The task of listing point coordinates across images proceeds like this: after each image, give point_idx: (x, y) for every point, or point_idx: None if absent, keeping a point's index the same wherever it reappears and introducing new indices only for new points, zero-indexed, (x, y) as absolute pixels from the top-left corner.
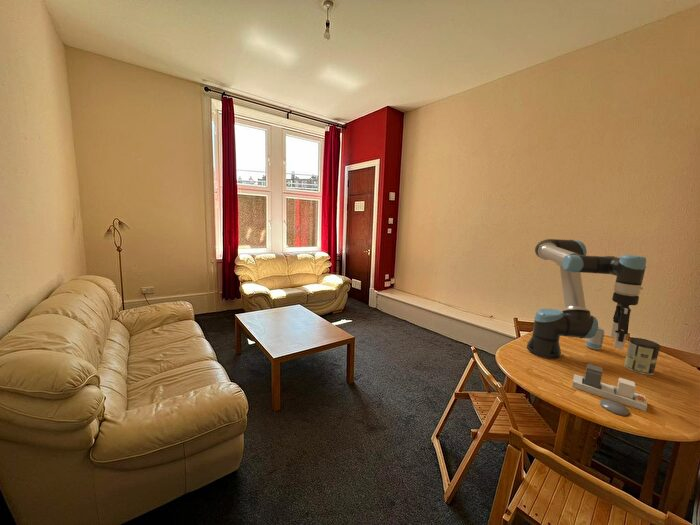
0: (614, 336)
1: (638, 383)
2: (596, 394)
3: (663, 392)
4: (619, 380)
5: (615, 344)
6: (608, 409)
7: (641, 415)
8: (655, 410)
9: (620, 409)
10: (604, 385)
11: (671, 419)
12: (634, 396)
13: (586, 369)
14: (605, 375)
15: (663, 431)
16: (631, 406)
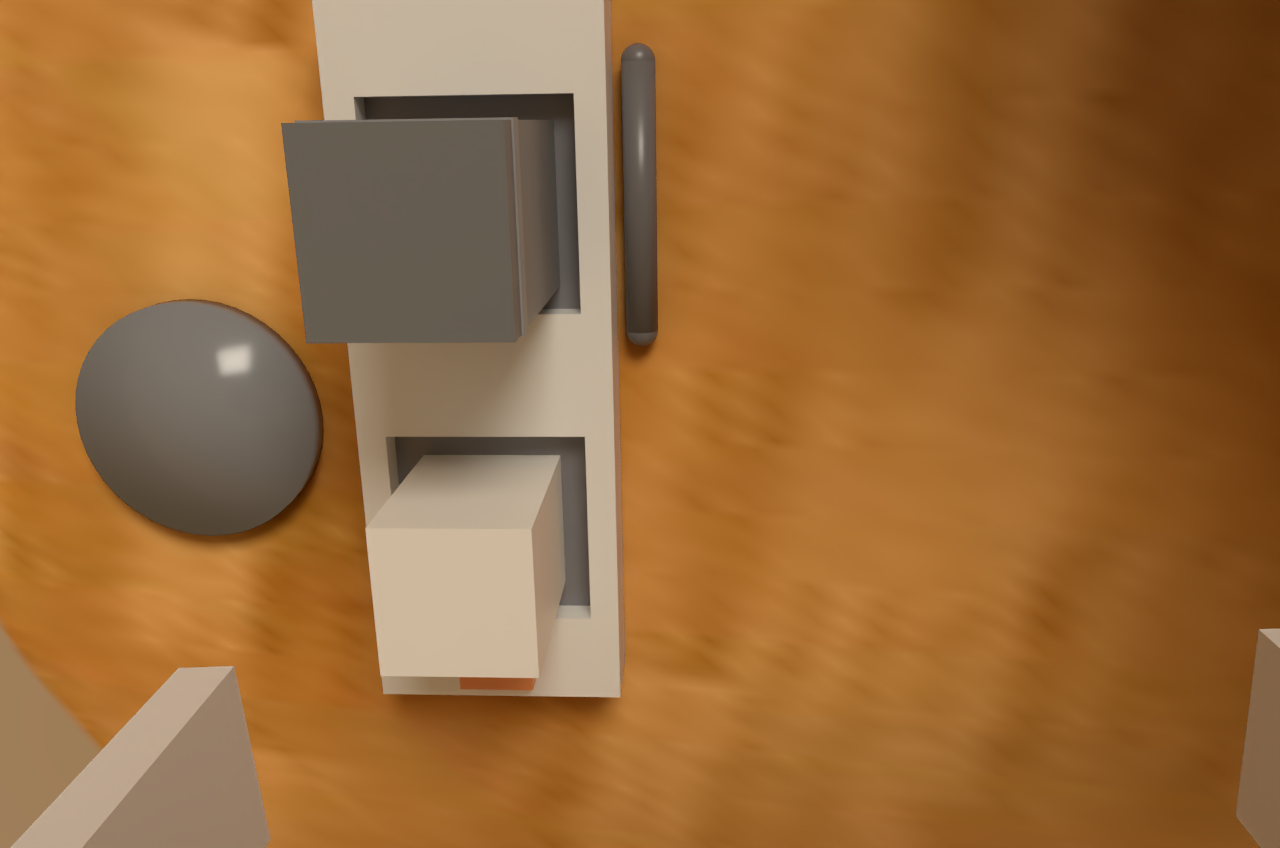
0: (1275, 743)
1: (1100, 657)
2: None
3: (1026, 831)
4: (421, 528)
5: (115, 756)
6: (83, 372)
7: (283, 616)
8: (506, 724)
9: (174, 470)
10: (540, 345)
11: (432, 807)
12: (569, 605)
13: (320, 120)
14: (1081, 351)
15: None
16: None
